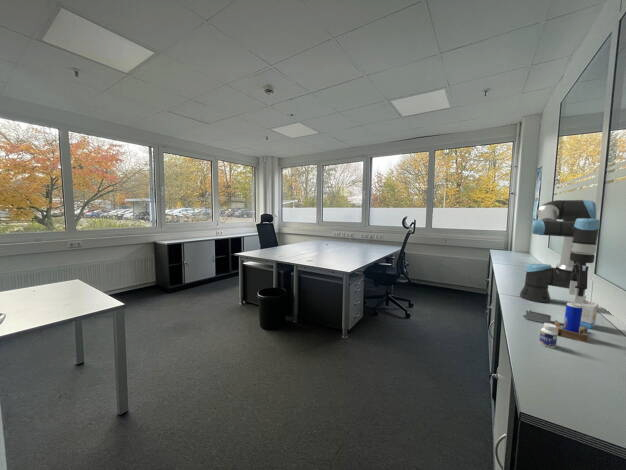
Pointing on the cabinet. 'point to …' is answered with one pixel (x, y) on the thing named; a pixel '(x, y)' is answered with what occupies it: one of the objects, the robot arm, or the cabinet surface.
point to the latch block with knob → (538, 316)
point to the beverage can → (572, 317)
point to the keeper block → (568, 334)
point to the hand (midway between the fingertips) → (575, 298)
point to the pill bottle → (548, 335)
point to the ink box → (588, 314)
